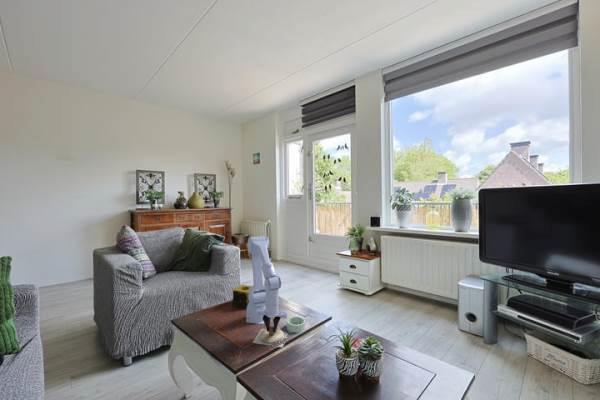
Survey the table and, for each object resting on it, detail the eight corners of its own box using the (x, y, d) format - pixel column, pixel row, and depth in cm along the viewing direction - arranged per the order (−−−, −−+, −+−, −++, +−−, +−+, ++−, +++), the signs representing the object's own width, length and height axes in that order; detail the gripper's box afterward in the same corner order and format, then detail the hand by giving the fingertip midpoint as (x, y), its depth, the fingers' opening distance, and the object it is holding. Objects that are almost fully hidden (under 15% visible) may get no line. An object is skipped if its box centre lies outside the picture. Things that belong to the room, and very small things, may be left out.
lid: (256, 340, 119) (256, 332, 119) (264, 327, 130) (264, 320, 130) (279, 344, 117) (279, 335, 117) (286, 330, 128) (286, 323, 127)
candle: (231, 306, 155) (231, 290, 154) (241, 300, 164) (241, 284, 164) (246, 310, 151) (247, 292, 151) (255, 302, 161) (256, 286, 160)
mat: (252, 343, 119) (252, 342, 119) (262, 329, 131) (262, 328, 131) (282, 348, 116) (282, 347, 116) (289, 333, 128) (289, 332, 128)
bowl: (284, 332, 129) (284, 324, 129) (289, 322, 138) (289, 315, 137) (303, 334, 127) (303, 326, 127) (306, 325, 136) (306, 317, 136)
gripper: (254, 304, 120) (253, 333, 121) (285, 308, 117) (284, 338, 118) (259, 298, 127) (259, 325, 128) (289, 301, 124) (288, 329, 125)
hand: (271, 331), depth 123 cm, fingers closed on lid, 3 cm apart
